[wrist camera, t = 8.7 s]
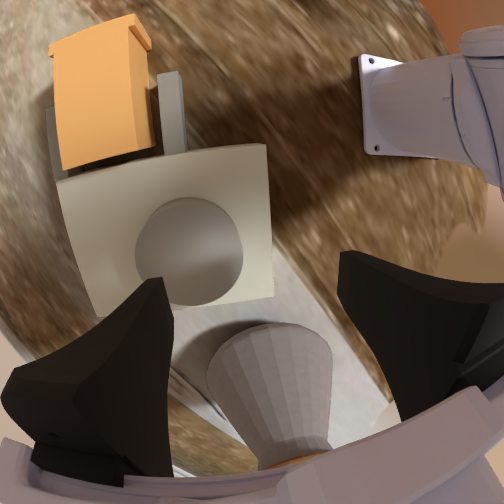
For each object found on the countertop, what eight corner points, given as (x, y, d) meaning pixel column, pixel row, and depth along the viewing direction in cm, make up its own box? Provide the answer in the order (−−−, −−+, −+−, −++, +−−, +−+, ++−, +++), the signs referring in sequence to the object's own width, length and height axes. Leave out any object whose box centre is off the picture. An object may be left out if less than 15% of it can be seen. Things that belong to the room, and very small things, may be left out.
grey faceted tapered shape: (179, 350, 24) (177, 509, 10) (286, 281, 22) (369, 449, 9) (290, 427, 32) (318, 518, 19) (363, 386, 31) (411, 476, 18)
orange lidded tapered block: (151, 40, 13) (134, 13, 9) (161, 144, 17) (144, 148, 12) (82, 61, 13) (49, 45, 8) (91, 161, 16) (58, 172, 12)
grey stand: (251, 72, 15) (266, 52, 11) (265, 275, 22) (281, 313, 17) (62, 110, 14) (24, 107, 9) (103, 295, 20) (84, 334, 16)
